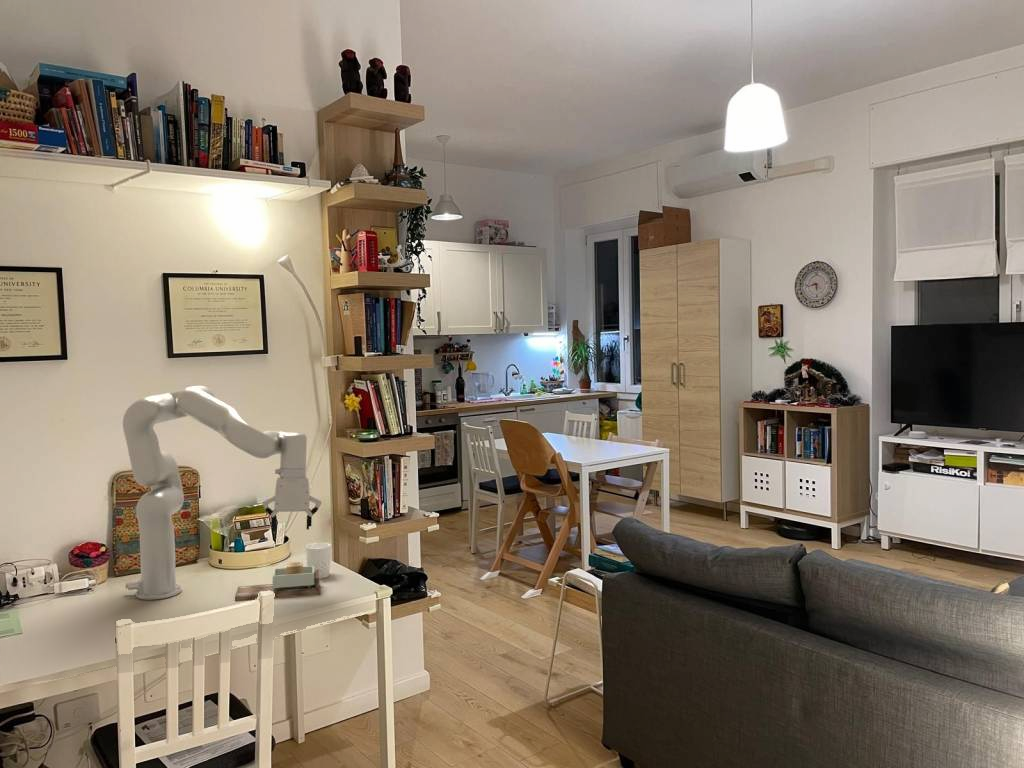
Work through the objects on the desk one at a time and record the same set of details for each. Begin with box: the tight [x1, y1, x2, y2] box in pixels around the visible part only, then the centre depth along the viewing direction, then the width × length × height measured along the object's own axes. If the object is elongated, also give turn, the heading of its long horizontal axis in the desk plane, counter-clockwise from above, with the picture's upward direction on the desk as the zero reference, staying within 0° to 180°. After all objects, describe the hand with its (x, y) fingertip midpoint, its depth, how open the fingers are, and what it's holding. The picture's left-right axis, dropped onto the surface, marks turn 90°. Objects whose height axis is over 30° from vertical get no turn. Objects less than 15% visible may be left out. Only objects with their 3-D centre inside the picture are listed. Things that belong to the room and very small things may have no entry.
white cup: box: [305, 542, 332, 580], centre depth 251 cm, size 8×8×10 cm
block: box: [286, 561, 304, 575], centre depth 235 cm, size 4×4×5 cm
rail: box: [234, 569, 320, 602], centre depth 234 cm, size 24×10×5 cm, turn 104°
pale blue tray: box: [272, 565, 314, 591], centre depth 235 cm, size 12×8×5 cm, turn 104°
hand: (291, 528), depth 235 cm, fingers open, 9 cm apart
